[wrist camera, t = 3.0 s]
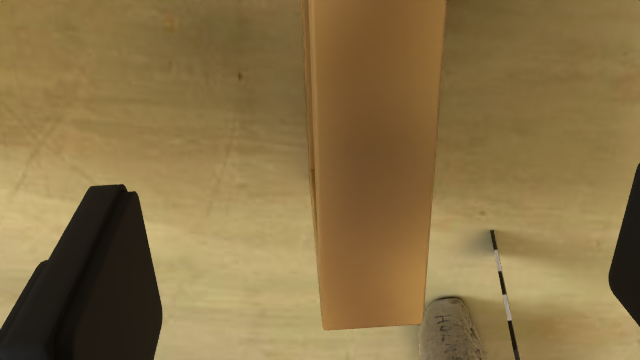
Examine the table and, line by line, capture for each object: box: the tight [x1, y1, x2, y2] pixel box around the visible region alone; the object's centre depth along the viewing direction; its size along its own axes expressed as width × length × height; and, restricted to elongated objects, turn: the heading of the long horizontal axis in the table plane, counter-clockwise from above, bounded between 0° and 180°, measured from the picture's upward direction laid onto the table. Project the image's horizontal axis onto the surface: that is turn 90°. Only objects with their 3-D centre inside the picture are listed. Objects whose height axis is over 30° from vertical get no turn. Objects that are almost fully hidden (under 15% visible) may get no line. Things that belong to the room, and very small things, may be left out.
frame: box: [301, 0, 447, 330], centre depth 18 cm, size 3×12×9 cm, turn 2°
